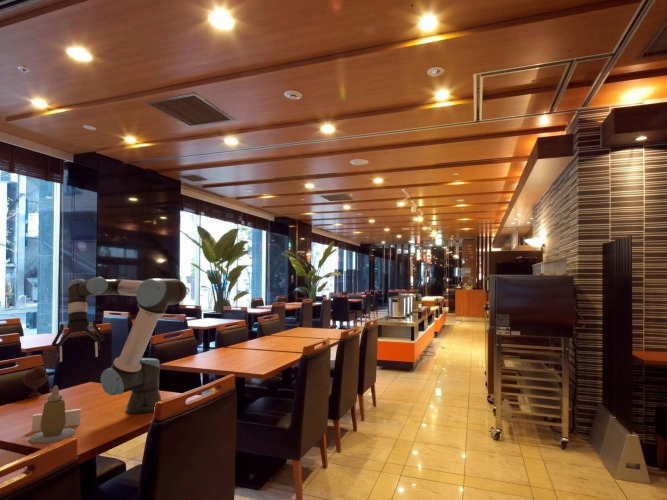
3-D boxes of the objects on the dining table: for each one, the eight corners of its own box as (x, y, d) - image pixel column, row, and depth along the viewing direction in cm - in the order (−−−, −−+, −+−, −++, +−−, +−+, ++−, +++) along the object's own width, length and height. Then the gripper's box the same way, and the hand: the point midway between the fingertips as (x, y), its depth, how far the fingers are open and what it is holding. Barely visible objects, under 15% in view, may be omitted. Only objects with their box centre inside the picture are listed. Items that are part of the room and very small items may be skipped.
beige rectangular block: (80, 423, 166) (80, 408, 167) (79, 424, 164) (80, 409, 165) (32, 429, 159) (33, 414, 159) (31, 431, 157) (32, 415, 158)
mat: (82, 433, 156) (82, 430, 156) (44, 446, 143) (44, 443, 143) (59, 427, 161) (59, 425, 161) (21, 439, 149) (21, 437, 149)
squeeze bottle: (43, 439, 147) (47, 389, 148) (36, 434, 151) (39, 386, 153) (68, 433, 153) (71, 385, 155) (60, 428, 158) (63, 382, 159)
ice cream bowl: (43, 391, 215) (45, 363, 216) (50, 395, 208) (52, 366, 209) (19, 396, 207) (21, 366, 208) (25, 400, 200) (27, 369, 201)
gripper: (107, 311, 196) (110, 355, 190) (45, 317, 181) (45, 364, 175) (109, 308, 190) (111, 353, 184) (44, 313, 176) (44, 362, 170)
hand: (79, 358), depth 180 cm, fingers open, 13 cm apart
